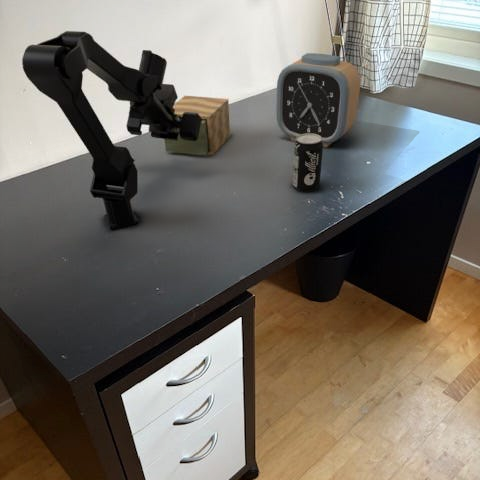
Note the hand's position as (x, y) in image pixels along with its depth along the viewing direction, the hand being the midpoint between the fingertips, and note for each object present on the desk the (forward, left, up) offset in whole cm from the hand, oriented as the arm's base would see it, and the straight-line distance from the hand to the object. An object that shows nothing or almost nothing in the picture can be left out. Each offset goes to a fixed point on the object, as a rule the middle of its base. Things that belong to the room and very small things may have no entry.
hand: (176, 138), depth 125 cm
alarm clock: (-3, -40, -7) cm, 41 cm away
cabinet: (+10, -10, -7) cm, 16 cm away
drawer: (+6, -6, -6) cm, 11 cm away
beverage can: (-28, -23, -7) cm, 37 cm away
